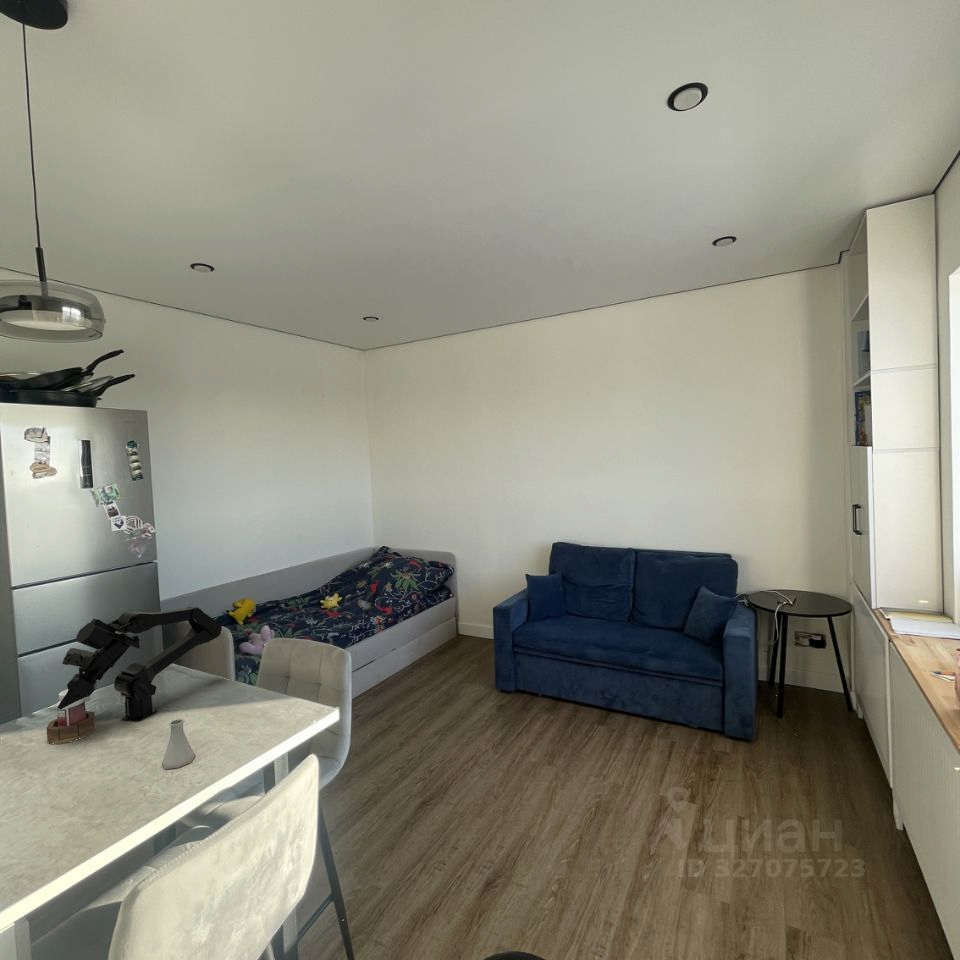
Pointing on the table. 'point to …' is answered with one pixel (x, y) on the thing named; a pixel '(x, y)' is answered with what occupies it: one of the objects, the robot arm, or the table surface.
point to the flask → (177, 747)
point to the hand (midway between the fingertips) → (63, 701)
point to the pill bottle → (70, 712)
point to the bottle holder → (70, 730)
